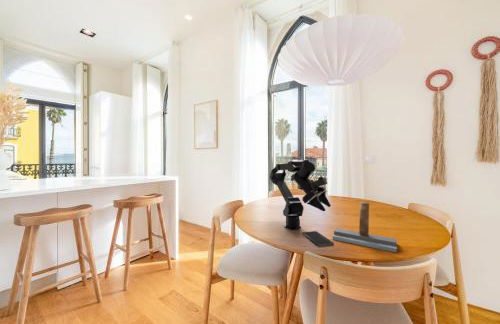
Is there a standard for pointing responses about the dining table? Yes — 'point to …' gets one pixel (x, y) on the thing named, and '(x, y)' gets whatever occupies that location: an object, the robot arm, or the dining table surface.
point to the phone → (317, 238)
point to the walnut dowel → (364, 219)
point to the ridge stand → (366, 240)
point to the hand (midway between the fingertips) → (327, 208)
